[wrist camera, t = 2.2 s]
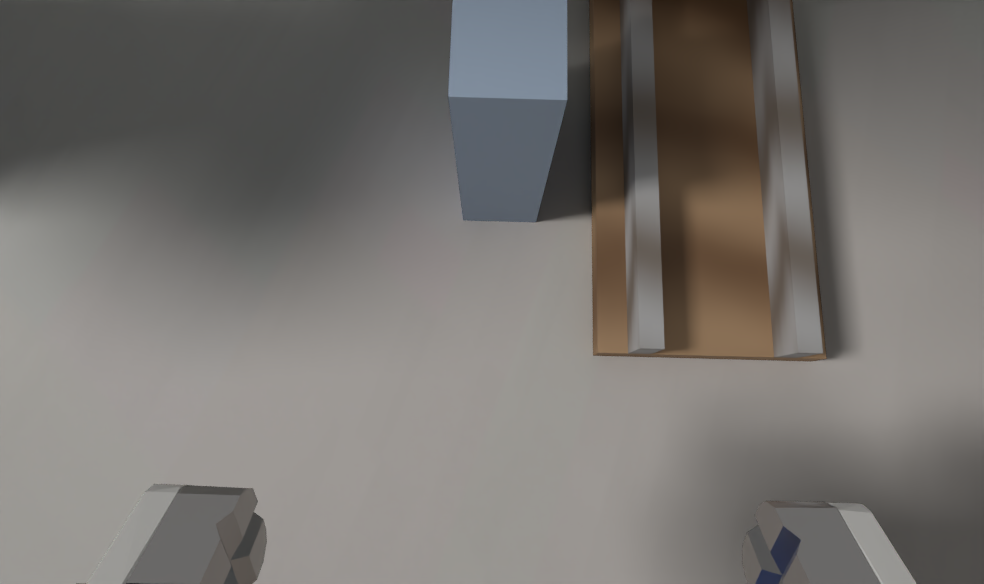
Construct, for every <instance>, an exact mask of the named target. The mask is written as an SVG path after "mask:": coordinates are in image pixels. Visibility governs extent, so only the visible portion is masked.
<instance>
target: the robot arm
mask: <svg viewBox="0 0 984 584" xmlns="http://www.w3.org/2000/svg"><path fill="white" fill-rule="evenodd" d="M257 503H258V500H257V498H256V495H255V492H254V490H253V488H235V487H214V486H194V485H171V484H154V485H153V486H151V487H150V488H149V489H148V490H147V491H145V492H144V493H143V495H142V496H141V498H140V500H139V501H138V503H137V504H136V506H135V507H134V509H133V511H132V512H131V514H130V515H129V517H128V519H127V520H126V522H125V523H124V525H123V526H122V528H121V530H120V531H119V533H118V534H117V536H116V538H115V539H114V541H113V542H112V544H111V545H110V547H109V549H108V550H107V552H106V553H105V555H104V557H103V558H102V560H101V561H100V563H99V565H98V566H97V568H96V569H95V571H94V572H93V574H92V576H91V577H90V579H89V580H88V582H87V583H76V584H252V583H254V582H255V581H256V580H257V578H258V575H259V573H260V570H261V567H262V564H263V561H264V555H265V549H266V544H267V537H266V527H265V523H264V520H263V519H262V518H261V517H260V516H258V515H257V514H256V513H254V510H255V508H256V505H257ZM755 517H756V520H757V522H758V524H759V525H758V526H756V527H755V528H753V529H751V530H750V531H748V532H747V534H746V537H745V539H744V542H743V545H742V564H743V568H744V573H745V577H746V580H747V583H748V584H917V583H916V581H915V580H914V578H913V577H912V575H911V574H910V572H909V570H908V569H907V567H906V566H905V564H904V563H903V561H902V559H901V558H900V556H899V555H898V553H897V552H896V550H895V548H894V547H893V545H892V544H891V542H890V541H889V539H888V537H887V536H886V534H885V533H884V531H883V530H882V528H881V526H880V525H879V523H878V522H877V520H876V519H875V517H874V515H873V514H872V512H871V511H870V510H869V509H868V508H867V507H866V506H864V505H863V504H859V503H826V502H808V501H765V502H763V503H762V504H760V505H759V506H758V509H757V511H756V513H755Z"/></svg>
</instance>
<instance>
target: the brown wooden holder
mask: <svg viewBox="0 0 984 584" xmlns="http://www.w3.org/2000/svg"><path fill="white" fill-rule="evenodd" d="M589 13H590V104H591V194H592V285H593V355H595V356H632V357H670V358H707V359H745V360H782V361H816V360H822V359H826V348H825V338H824V328H823V317H822V307H821V296H820V286H819V275H818V265H817V254H816V244H815V233H814V223H813V212H812V202H811V191H810V181H809V170H808V160H807V149H806V139H805V129H804V118H803V108H802V97H801V87H800V76H799V66H798V55H797V45H796V34H795V24H794V13H793V3H792V0H589Z"/></svg>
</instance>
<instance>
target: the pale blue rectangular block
mask: <svg viewBox="0 0 984 584" xmlns="http://www.w3.org/2000/svg"><path fill="white" fill-rule="evenodd" d="M448 99H449V107H450V116H451V124H452V132H453V140H454V149H455V157H456V165H457V173H458V181H459V190H460V198H461V206H462V214H463V220H471V221H508V222H536V220H537V216H538V212H539V208H540V205H541V201H542V197H543V193H544V189H545V185H546V181H547V177H548V173H549V170H550V166H551V162H552V158H553V154H554V150H555V146H556V142H557V138H558V134H559V131H560V127H561V123H562V119H563V115H564V111H565V107H566V103H567V0H453V3H452V25H451V47H450V68H449V90H448Z"/></svg>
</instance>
